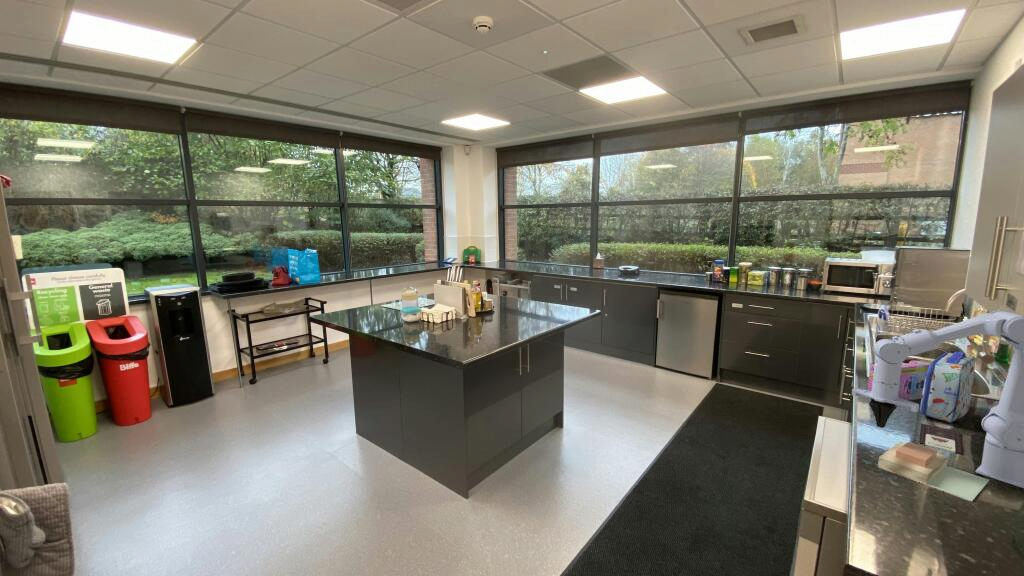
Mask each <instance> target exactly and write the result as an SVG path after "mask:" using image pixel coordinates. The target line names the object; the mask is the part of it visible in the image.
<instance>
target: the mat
mask: <svg viewBox="0 0 1024 576" xmlns="http://www.w3.org/2000/svg"><path fill="white" fill-rule="evenodd" d="M989 482H990V479H987V478H984V477H982V476H979V475H976V474H973V473H970V472H967V471H965V470H961V469H957V468H955V467H951V466H948V465H947V466H946V467H945V468H944V469H943V470H941V471H940V472H939V473H938V474H937V475H936V476H935V477H934V478H933V479H932V480H931V481H930V482H929V483H928V484H927V485H928V487H930V488H933V489H935V488H936V490H938V491H941V492H943V491H944V493H947V494H949V495H952V496H954V497H957V498H960V499H962V500H965V501H968V502H970V501H971V503H972V502H973V501H974V500H975V499H976V497H977V496H978V495H979V494H980V493H981V492H982V491H983V489H984V488H985V487H986V486H987V485H988V483H989ZM927 485H926V486H927Z"/></svg>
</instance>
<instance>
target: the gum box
mask: <svg viewBox="0 0 1024 576" xmlns="http://www.w3.org/2000/svg"><path fill="white" fill-rule="evenodd" d="M874 364H875V362H870V364H869V373H868V382H867V383H868V384H867V390H869V391H872V382H873V373H874ZM929 366H930V363H928V362H925V361H921V360H920V359H918V358H906V359H905V360H904V361H903V362H901V374H900V383H899V392H898V397H899V398H902V399H905V400H908V401H913V400H914V401H915V400H921V399H922V392H923V388H924V383H925V378H926V376H925V374H926V372H927V371H928V368H929Z"/></svg>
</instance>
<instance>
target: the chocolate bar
mask: <svg viewBox="0 0 1024 576" xmlns="http://www.w3.org/2000/svg"><path fill="white" fill-rule="evenodd" d="M919 432H920V433H919V440H918V444H919V443H920V444H919V445H921V444H925V445H928V446H931V447H930V448H932V447H934V448H933V449H936V448H938V449H937V450H940V449H941V450H940V451H944V450H945V452H948V451H949V453H953V454H956V455H960V456H961V455H963V450H962V449H963V448H962V436H961V431H957V430H955V429H954V430H953V429H950V428H949V429H948V428H944V427H939V426H934V425H931V424H926V423H920V431H919ZM925 445H924V446H925ZM928 446H927V447H928Z"/></svg>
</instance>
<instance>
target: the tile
mask: <svg viewBox="0 0 1024 576" xmlns="http://www.w3.org/2000/svg"><path fill="white" fill-rule="evenodd" d="M905 443H906V444H905V445H903V446H902V447H901V448H899V449H898V450H896V457H895V458H898V459H901V460H904V461H907V462H910V463H913V464H916V465H919V466H921V467H924V468H925V467H926V466H927V465H928V464H930V463H931V462H932V461H933V460H934V459H935V458H936V455H937V453H938V451H937V450H935V449H932V448H930V447H929V448H928V447H927V446H924V445H921V444H916V443H913V442H909V441H906V442H905Z"/></svg>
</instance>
